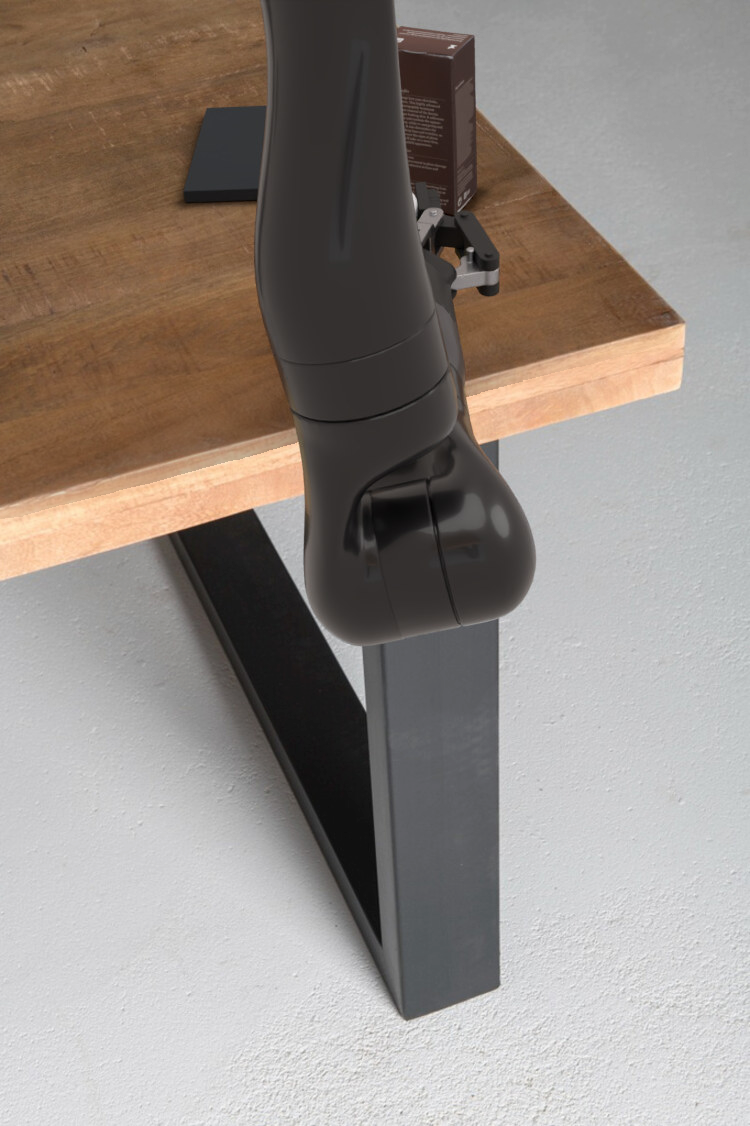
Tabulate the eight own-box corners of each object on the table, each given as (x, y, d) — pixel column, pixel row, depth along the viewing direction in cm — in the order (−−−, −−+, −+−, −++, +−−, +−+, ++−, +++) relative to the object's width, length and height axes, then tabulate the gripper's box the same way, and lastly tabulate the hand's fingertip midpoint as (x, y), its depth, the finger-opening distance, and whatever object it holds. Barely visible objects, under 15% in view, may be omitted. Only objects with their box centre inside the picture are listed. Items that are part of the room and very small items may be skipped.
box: (479, 189, 106) (477, 32, 98) (455, 218, 104) (451, 59, 95) (407, 176, 109) (399, 21, 100) (381, 204, 106) (371, 47, 98)
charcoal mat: (185, 202, 108) (182, 191, 107) (208, 118, 118) (206, 107, 117) (367, 196, 107) (367, 184, 106) (375, 112, 117) (374, 100, 116)
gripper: (525, 281, 74) (486, 134, 86) (251, 303, 74) (251, 152, 86) (522, 397, 79) (486, 242, 91) (266, 418, 79) (264, 260, 91)
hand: (372, 199), depth 89 cm, fingers closed on supplement bottle, 5 cm apart
